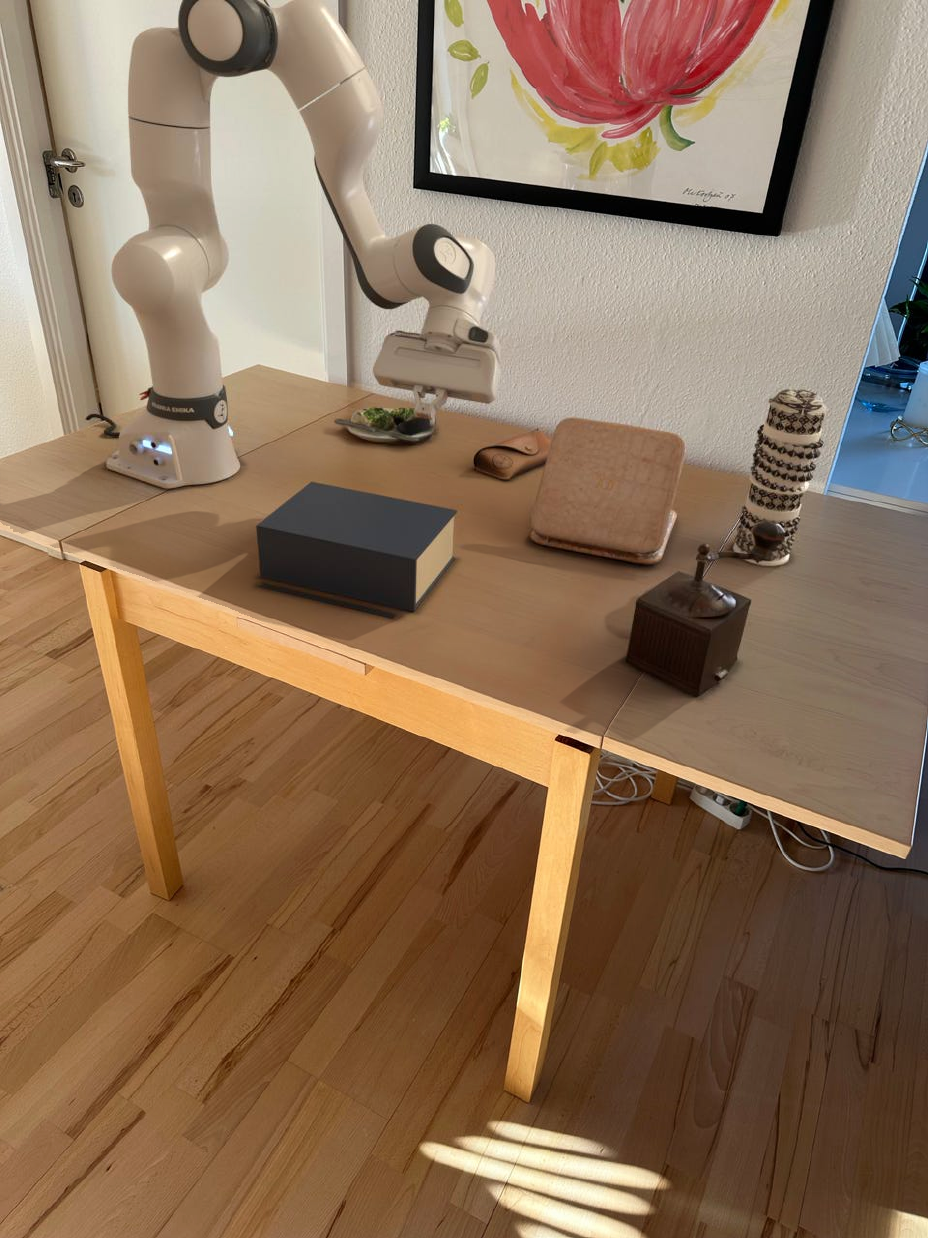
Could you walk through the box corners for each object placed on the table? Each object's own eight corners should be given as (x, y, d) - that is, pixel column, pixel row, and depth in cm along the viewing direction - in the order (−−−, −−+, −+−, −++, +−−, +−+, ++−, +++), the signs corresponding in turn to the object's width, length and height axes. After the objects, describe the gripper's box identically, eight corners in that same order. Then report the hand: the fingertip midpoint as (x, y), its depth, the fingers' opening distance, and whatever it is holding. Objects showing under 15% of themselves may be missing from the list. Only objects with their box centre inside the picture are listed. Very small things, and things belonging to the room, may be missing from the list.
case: (523, 545, 137) (532, 445, 129) (559, 493, 154) (569, 402, 146) (656, 573, 132) (675, 471, 123) (678, 516, 149) (696, 423, 140)
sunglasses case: (509, 480, 157) (496, 443, 155) (481, 488, 162) (468, 453, 160) (569, 453, 168) (558, 419, 167) (541, 462, 173) (530, 429, 172)
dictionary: (260, 577, 125) (256, 525, 121) (313, 529, 138) (311, 481, 134) (414, 612, 120) (415, 559, 115) (454, 559, 132) (457, 509, 128)
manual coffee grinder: (702, 701, 106) (734, 567, 96) (622, 662, 112) (645, 532, 102) (761, 648, 116) (795, 522, 107) (685, 615, 122) (711, 493, 112)
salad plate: (327, 444, 168) (326, 420, 165) (342, 412, 183) (341, 389, 180) (430, 451, 167) (431, 427, 165) (437, 418, 183) (438, 395, 180)
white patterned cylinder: (763, 572, 134) (805, 409, 120) (717, 546, 140) (753, 388, 127) (804, 559, 138) (850, 400, 125) (758, 534, 144) (797, 380, 131)
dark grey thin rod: (258, 586, 123) (258, 585, 123) (262, 583, 124) (262, 582, 124) (393, 618, 118) (393, 618, 118) (396, 615, 119) (396, 614, 119)
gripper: (382, 317, 143) (356, 396, 140) (505, 336, 137) (480, 418, 135) (393, 339, 149) (368, 414, 146) (511, 358, 143) (487, 436, 141)
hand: (423, 416), depth 140 cm, fingers closed
